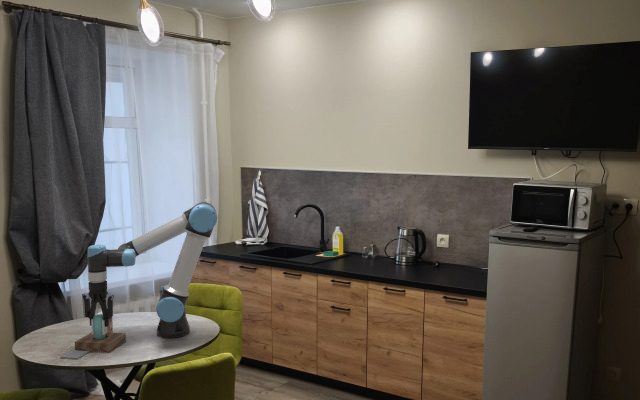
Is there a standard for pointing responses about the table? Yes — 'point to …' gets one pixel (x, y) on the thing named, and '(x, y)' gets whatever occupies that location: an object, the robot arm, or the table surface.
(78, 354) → the mat
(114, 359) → the table surface
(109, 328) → the small box
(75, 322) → the table surface
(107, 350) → the wooden block with hole
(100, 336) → the plug
